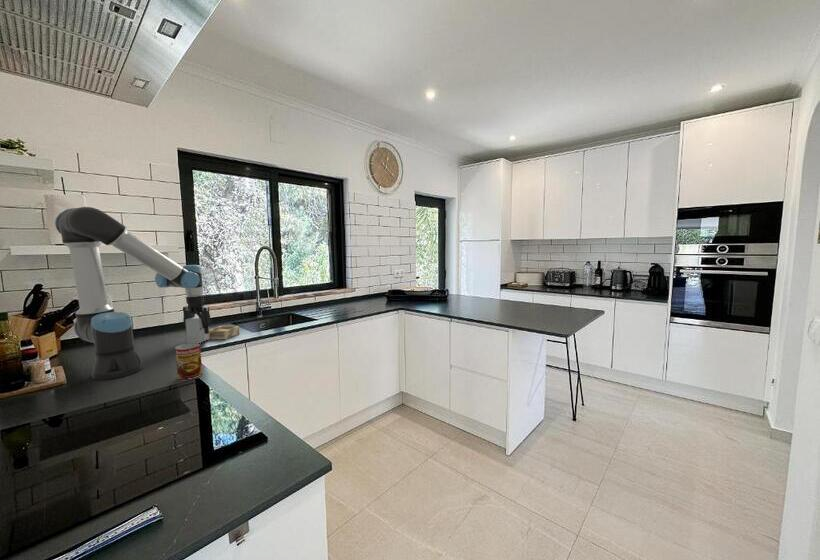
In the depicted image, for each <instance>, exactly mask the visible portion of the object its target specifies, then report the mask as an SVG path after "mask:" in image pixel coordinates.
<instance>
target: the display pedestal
mask: <svg viewBox="0 0 820 560" xmlns="http://www.w3.org/2000/svg"><path fill="white" fill-rule="evenodd" d="M209 331H210V340H214V339H226V340H228V339H227V338H229V339H231V338H234V337H235V335H236V336H238V334H239V335H240V326H239V325H238V326H237V325H219V326H216V327H213V328H209ZM233 336H234V337H233ZM230 337H231V338H230Z"/></svg>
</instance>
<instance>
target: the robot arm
mask: <svg viewBox="0 0 820 560" xmlns="http://www.w3.org/2000/svg"><path fill="white" fill-rule="evenodd" d="M54 226H55V228H56V230H57V231H58V234H60V236H61V240H62V245H64V246H66V247H68V249H69V253H70V254H69V255H70V260H71V265H72V267H71V268H72V272H73V278H74V283H75V288H76V293H77V300H78V306H79V309H78V310H76V312H75V313H74V314H75V318H76V319H75V322H74V324H73V329H74V333H75V335H76V336H77V337H78V338H79V339H81V340H82V341H85V342H88V343H93V344H94V352H95V359H94V363H93V368H92V371H91V378H92V379H93V380H95V381H96V380H97V381H104V380H105V381H106V380H114V379H119V378H122V377H126V376H130V375H132V374H135V373H137V372H139V371H141V370H142V369H143V363H142V361H141V359H140V357H139V355H138V354H137V352H136V349H135V341H134V333H133V321H132V319H131V316H130V314H129V313H126V312H122V311H120V312H117V311H115V308H114V306H112V305H110V304H109V301H108V295H107V288H106V284H105V276H104V270H103V264H102V257H101V251H100V246H101V245H102V244H103V245H105V246H113V247H114V248H116V249H118V250H119V251H121V252H122V253H124V254H125V255H127V256H129V257H131V258H133V259H134V260H136V261H137V262H139V263H141V264H142V265H144V266H145V267H147V268H149V269H150V270H152V271H154V272H155V273H156V274H155V276H154V282H155V284H156V286H157V287H158V288H161V289H162V288H163V289H164V288H179V289H180V288H181V289H182V288H183V289H185V292H184V293H185V296H186V297H185V299H186V300H185V301H186V302H185V303H186V306H183V307H182V311H183V317H182V319H183V321H182V322H183V323H182V325H183V326H184V327H186V321H185V319H189V318H193V317H196V316H199V318H201V320H202V325H203V327H202V334H203V341H205V340H207V339H208V333H209V330H210V327H211V326H212V325H213V323H212V319H211V314H210V306H204V302H205V298H204V297H205V296H204V289H203V288H204V287H203V278H202V275H203V273H202V268H201V266H200V265H198V264H188V265H186V264H185V265H183V266H181V265H179V264H178V263H176V262H175V261H173V260H172V259H170V258H169V257H168V256H166V255H164V254H163V253H161V252H160V251H159V250H157V249H155V248H153V247H152V246H151V245H149V244H148V243H146V242H145V241H143V240H142V239H140V238H138V237H137V236H136V235H134V234H132V233H131V232H130V231H128V230H127V226H126V225H124V224H122V223H121V222H119V220H116V219H115V218H113V217H112V216H111V215H108V213H105V212H104V211H102V210H100V209H98V208H95V207H91V206H81V207H72V208H68V209H65V210H63V211H62V212H60V213H59V214H57V216H56V218H55V221H54ZM205 324H206V325H205ZM208 327H209V328H208ZM205 342H206V341H205Z"/></svg>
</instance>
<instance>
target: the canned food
mask: <svg viewBox="0 0 820 560" xmlns="http://www.w3.org/2000/svg"><path fill="white" fill-rule="evenodd" d="M174 349H175V350H174V352H175V360H176V370H177V371H176V372H177V379H178V378H179V379H188V378H193V377H196V376H199V375H201V374H202V373H203V365H202V354H201V353H202V351H201V343H200V344H199V343H188V342H187V343H181V344H179V345H177V346H175V347H174ZM202 375H203V374H202ZM202 375H201V376H202ZM179 379H178V380H179Z"/></svg>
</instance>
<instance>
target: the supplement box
mask: <svg viewBox="0 0 820 560" xmlns="http://www.w3.org/2000/svg"><path fill="white" fill-rule="evenodd" d="M185 321H186V326H185V329H186V340H187V341H186V342H187V343H200V344H202V343H204V342H203V334H202V327H203V325H202V320H201V318H199V316H197V315H195V317H193V318H189V319H185ZM205 325H206V324H205ZM208 328H209V329H210V326H209V327H208ZM209 339H210V331H209V333H208V339H207V340H208V341H210V340H211V339H210V340H209ZM201 342H202V343H201ZM205 342H207V341H206V340H205Z"/></svg>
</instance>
